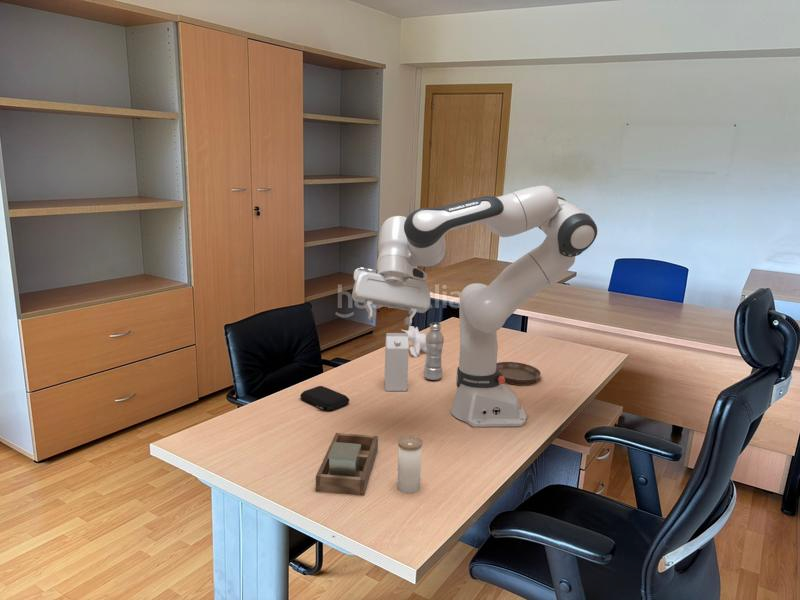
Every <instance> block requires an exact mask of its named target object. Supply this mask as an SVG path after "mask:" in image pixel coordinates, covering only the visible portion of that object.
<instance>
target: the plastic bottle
mask: <svg viewBox="0 0 800 600" xmlns="http://www.w3.org/2000/svg"><path fill="white" fill-rule="evenodd" d="M441 326H442V325H441V323H440V322H431V323H429V330H430V331H429V332H428V333H427V334H426V335H427V336H426V353H425V354H426V357H425V365H424V368H423V376H424V378H425V379H426V380H429V381H439V380H440V379H441V377H443V376H442V375H443V366H442V365H443V364H442V363H443V362H442V355H443V347H444V342H445V338H444V335H443V333H442V332H441V329H442V328H441Z"/></svg>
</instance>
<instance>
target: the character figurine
mask: <svg viewBox="0 0 800 600" xmlns="http://www.w3.org/2000/svg"><path fill="white" fill-rule="evenodd" d="M401 331H402V332H404V333H408V342H411V344H412V346H410V347H409V352H410V354H411V355H412V356H413V357H414V358H417V357H418V356H419V355H420V352H421V351H423V353H425V354H427V353H426V336H427V334H426V333H424V332H421V333H420V331H419V327H418V326H416V327H415V326H413V325H410V326H408V330H404V329H401Z"/></svg>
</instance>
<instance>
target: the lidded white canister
mask: <svg viewBox="0 0 800 600" xmlns="http://www.w3.org/2000/svg"><path fill="white" fill-rule="evenodd" d="M397 443H398V444H397V445H398V449H397V450H398V453H397V454H398V456H397V484H396V485H397V487H396V488H397V490H398V491H400V492H401V493H403V494H414V493H415V494H416V493H417V492H419V490H420V488H421V471H422V470H421V469H422V468H421V467H422V465H421V464H422V447H423V440H422V438H421V437H419V436H418V435H417V436H416V435H413V434H412V435H410V434H408V435H403V436H401V437H399V438H398V440H397Z"/></svg>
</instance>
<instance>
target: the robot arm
mask: <svg viewBox="0 0 800 600" xmlns="http://www.w3.org/2000/svg"><path fill="white" fill-rule="evenodd" d="M477 224H482V225H485V226H486V227H487V228H488V229H489V231H490V232H491V233H492V234H494V235H496V236H498V237H501V238H509V237H513V236H516V235H520V234H523V233H525V232H527V231H530V230H533V229H534V228H538V229H540V230H541V231H542V232H543V233H544V234H545V235H546V237H545V238H544V240H543V241H542V243H541V244H540V245H538V246H536V247H535V248H533V249H532V250H530V251H528V252H527V253H526V254H523V255H522V256H521V257H520V258H518V259H517V260H515V261H514V262H512V263H510V264H508V266H506V267H505V268H504V269H502V272H500V274H498V276H497V277H496V278H494V279H493V280H492V282H491V283H490V284H489V285H486V284H484V283H479V282H478V283H477V282H475V283H470V284H468V285H466V286H465V287H463V289H462V290H461V293H460V296H459V310H458V311H459V339H460V340H459V343H460V344H459V359H458V361H459V362H458V367H457V370H456V375H455V376H456V378H455V379H456V380H455V382H456V383H455V384H456V391H455V396H454V400H453V403H452V406H451V408H450V413H451V415H452V416H453V417H455V418H456V419H458V420H460V421H463V422H465V423H467V424H468V425H470V426H471V427H475V428H476V427H477V428H481V427H482V428H483V427H484V428H485V427H486V428H487V427H490V428H491V427H523V426H525V424H526V422H527V413H526V410H525V409H524V408H523V407H522V406H520V401H519V398H518V396H517V394H516V392H515V391H514V390H512V389H511V388H510V387H509V386H507V385H506V383H505V378H504V377H503V374H502V373H501V371H500V370H499V371H498V370H497V369H496V365H497V363H498V361H497V360H498V348H499V344H498V337H497V336H498V335H497V331H499V330H500V329H501V328H503V326H504V325H505V322H506V321H507V319H509V318H510V316H511V315H512V314H514V313H515V312H516V311H517V309H519V308H520V307H521V306H522V305H523V304H524V303H525V302H527V301H528V300H529V299H531V298H533V296H535V295H536V294H538V293H540V292H541V291H542V290H544V289H545V288H547V287H548V286H550V285H551V284H553V283H554V282H556V281H557V280H559V279H560V277H562V276H563V275H565V273H566V272H567V271H569V269H570V268H572V266H574V264H575V262H576V256H580V255H581V254H582V253H584V252H585V251H586V250H587V249H589V248H590V247H591V246H592V245H593V243H594V242H595V240H596V238H597V236H598V227H597V224H596V223H595V221H594V220H593V218H592V217H591V216H590V215H589V214H587V213H585V211H583V210H582V209H581V208H580V207H579V206H577V205H575V204H573V203H571V202H570V201H568V200H566V199H565V198H563V197H560V196H557V194H556V192H555V191H554V189H553V188H551V187H550V186H547V185H536V186H535V185H534V186H530V187H526V188H522V189H519V190H516V191H513V192H509V193H507V194H504V195H500V196H499V195H498V196H493V195H486V196H481V197H475V198H472V199H469V200H464V201H459V202H455V203H451V204H447V205H445V206H444V205H443V206H437V207H422V208H418V209H416V210H413V211H412V212H411V213H410V214H409V215H408V216H407V217H406V216H403V215H402V216H401V215H394V216H391V217H389V218H386V220H385V221H384V222H383V223H382V225H381V228H380V230H379V236H378V246H377V250H378V257H377V260H376V269H374V268H373V269H372V268H366V267H361V266H360V267H359V268H356V269H354V270H353V276H352V277H353V278H352V279H353V280H354V284H353V289H352V293H351V298H352V300H353V301H354V302H357V303H361V304H363V303H364V307H365V310H366V312H367V313H368V316H367V317H368V320H371V321H375V319H376V318H377V316H376V315H377V311H374V310H373V308H372V305H374V306H380V307H387V308H392V309H397V310H403V311H408V314H409V316H406V317H405V318H404V323H403V324H404V326H408V327H409V326H412V325H413V324H412V323H413V318H414V316H415V314H416V313H420V314H421V313H422V314H425V313H426V312H427V311H428V310H429V309H430V307H431V292H430V291H431V290H430V286H429V283H427V280H428V273H427V272H425V271H423V270H422V269H419V268H418V267H421V268H430V267H431V268H432V267H435V266H437V265H439V264H440V263H441V262H443V260H444V258H446V257H445V256H446V253H447V247H446V238H445V236H446V234H447V233H448V232H450V231H453V230H456V229H460V228H465V227H467V226H471V225H477Z"/></svg>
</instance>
